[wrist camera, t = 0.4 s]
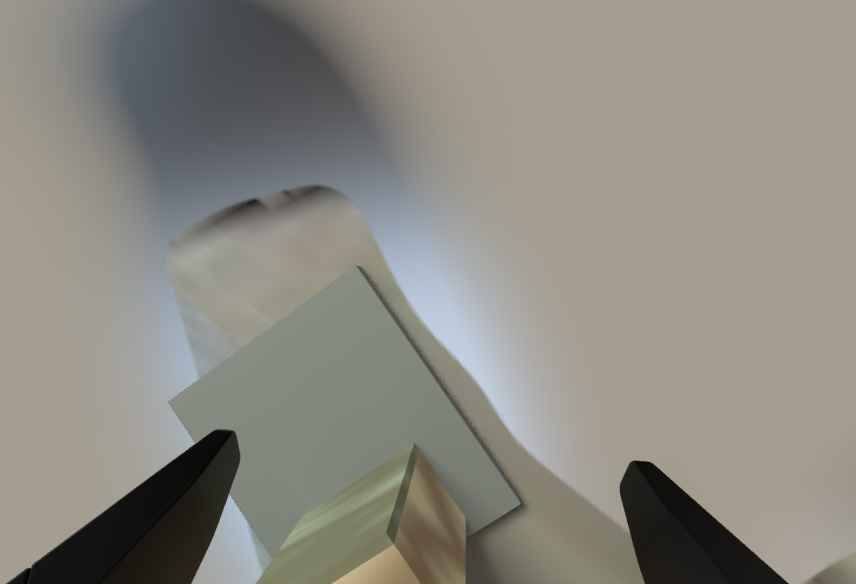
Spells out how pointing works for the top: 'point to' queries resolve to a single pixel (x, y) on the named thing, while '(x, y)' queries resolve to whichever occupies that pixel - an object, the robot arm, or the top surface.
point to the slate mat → (337, 413)
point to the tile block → (379, 532)
